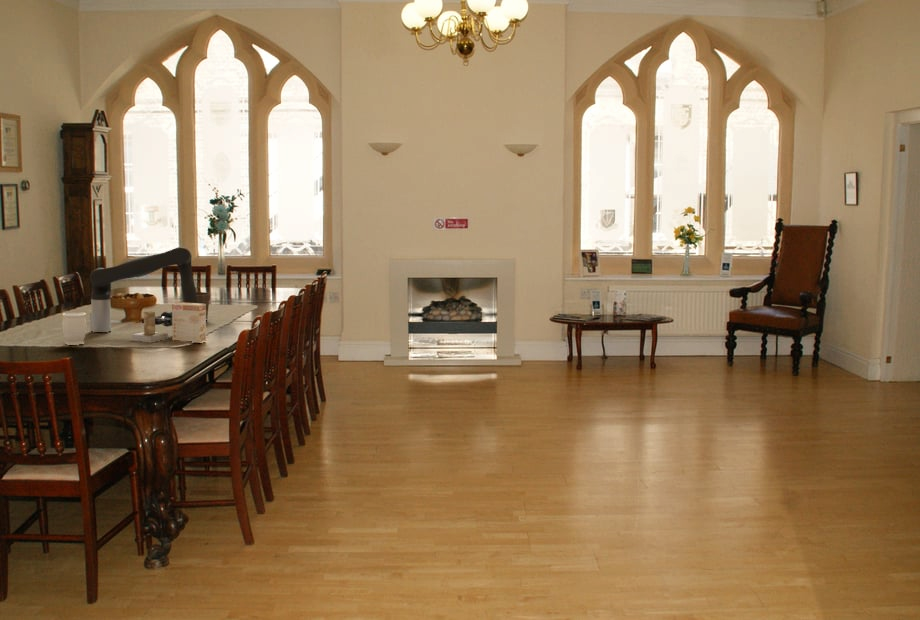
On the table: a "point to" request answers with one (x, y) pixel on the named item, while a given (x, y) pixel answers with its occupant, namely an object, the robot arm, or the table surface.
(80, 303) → the table surface
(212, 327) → the table surface
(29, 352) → the table surface
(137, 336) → the socket block
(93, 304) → the robot arm
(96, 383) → the table surface
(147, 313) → the peg
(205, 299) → the plant pot
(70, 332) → the jar
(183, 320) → the coffeecake box
